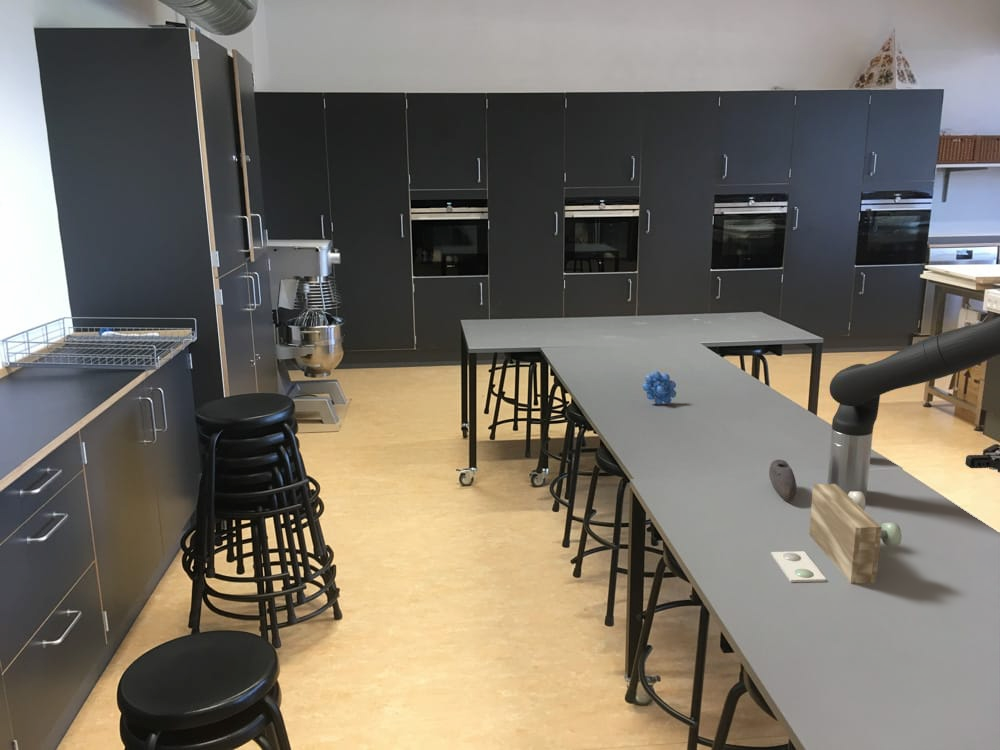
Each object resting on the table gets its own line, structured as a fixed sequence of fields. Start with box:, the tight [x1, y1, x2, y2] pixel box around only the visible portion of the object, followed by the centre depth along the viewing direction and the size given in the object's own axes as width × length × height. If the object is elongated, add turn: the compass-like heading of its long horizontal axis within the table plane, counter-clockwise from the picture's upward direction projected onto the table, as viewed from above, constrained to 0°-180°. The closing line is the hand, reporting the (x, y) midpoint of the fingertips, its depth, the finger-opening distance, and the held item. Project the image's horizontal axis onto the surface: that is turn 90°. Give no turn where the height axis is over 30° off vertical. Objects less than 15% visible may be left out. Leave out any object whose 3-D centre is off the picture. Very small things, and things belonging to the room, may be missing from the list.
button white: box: [848, 491, 866, 511], centre depth 176 cm, size 6×4×4 cm
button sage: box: [880, 522, 902, 546], centre depth 160 cm, size 6×4×4 cm
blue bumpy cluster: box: [642, 370, 677, 406], centre depth 278 cm, size 12×7×12 cm, turn 87°
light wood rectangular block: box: [808, 483, 882, 584], centre depth 169 cm, size 5×22×12 cm, turn 0°
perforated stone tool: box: [768, 459, 797, 502], centre depth 203 cm, size 15×5×7 cm, turn 172°
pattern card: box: [770, 550, 827, 583], centre depth 167 cm, size 12×7×1 cm, turn 0°
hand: (968, 461), depth 157 cm, fingers closed
